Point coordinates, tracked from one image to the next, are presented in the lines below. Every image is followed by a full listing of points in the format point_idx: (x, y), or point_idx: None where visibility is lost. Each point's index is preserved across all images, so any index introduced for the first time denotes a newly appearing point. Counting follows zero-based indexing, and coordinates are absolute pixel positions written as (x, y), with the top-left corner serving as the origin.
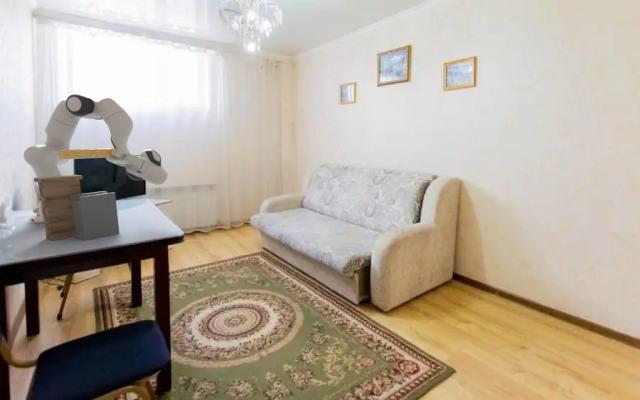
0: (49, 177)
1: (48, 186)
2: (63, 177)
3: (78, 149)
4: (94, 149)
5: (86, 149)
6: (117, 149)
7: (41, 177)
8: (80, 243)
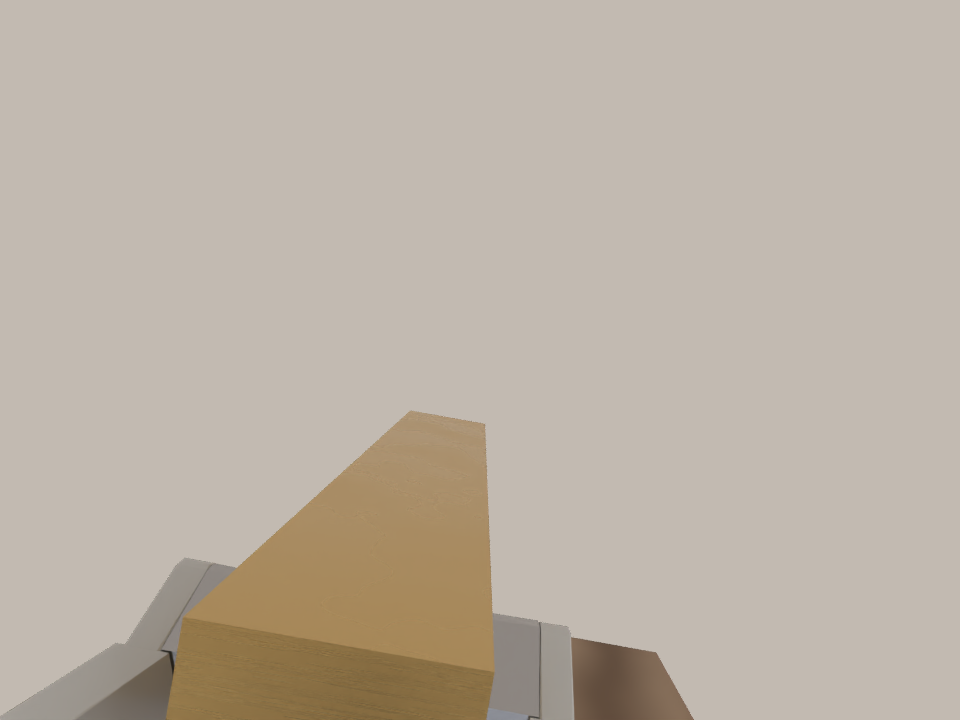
0: (609, 682)
1: None
2: None
3: (468, 446)
4: (358, 460)
5: (380, 440)
6: (195, 635)
7: (655, 672)
8: None
